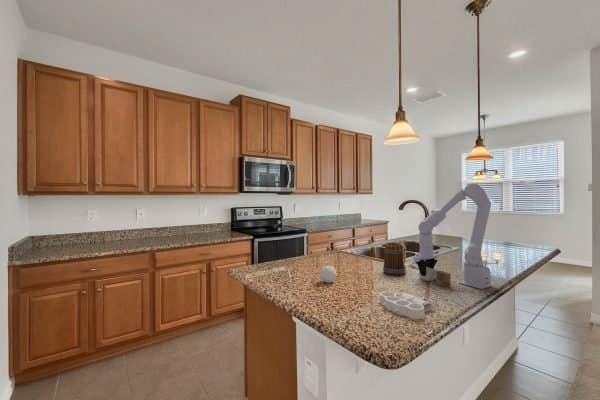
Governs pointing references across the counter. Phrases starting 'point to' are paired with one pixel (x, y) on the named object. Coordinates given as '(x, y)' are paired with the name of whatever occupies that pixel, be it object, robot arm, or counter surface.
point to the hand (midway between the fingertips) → (426, 274)
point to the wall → (443, 279)
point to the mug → (393, 259)
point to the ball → (328, 274)
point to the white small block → (428, 274)
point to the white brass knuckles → (404, 304)
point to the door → (435, 272)
